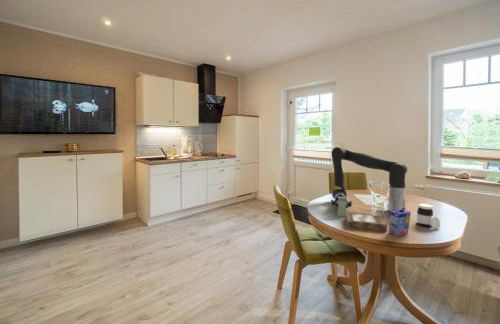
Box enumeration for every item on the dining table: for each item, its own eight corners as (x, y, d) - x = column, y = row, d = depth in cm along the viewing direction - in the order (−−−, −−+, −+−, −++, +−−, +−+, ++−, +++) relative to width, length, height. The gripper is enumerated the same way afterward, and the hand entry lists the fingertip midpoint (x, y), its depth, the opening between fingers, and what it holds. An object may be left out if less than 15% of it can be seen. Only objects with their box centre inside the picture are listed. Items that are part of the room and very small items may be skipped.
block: (345, 214, 166) (346, 196, 165) (345, 216, 163) (346, 198, 161) (337, 213, 168) (338, 196, 166) (337, 215, 164) (338, 198, 162)
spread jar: (417, 220, 154) (418, 202, 153) (440, 224, 147) (442, 205, 146) (414, 226, 145) (416, 207, 144) (439, 231, 138) (441, 210, 137)
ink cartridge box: (398, 236, 132) (400, 209, 130) (388, 232, 137) (389, 207, 135) (409, 233, 136) (411, 207, 134) (399, 229, 141) (401, 204, 139)
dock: (381, 222, 151) (381, 215, 151) (386, 231, 138) (387, 224, 138) (345, 219, 157) (346, 212, 156) (347, 227, 144) (348, 220, 143)
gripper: (330, 193, 179) (330, 200, 163) (351, 195, 175) (354, 201, 159) (329, 204, 180) (330, 211, 164) (351, 205, 176) (353, 213, 160)
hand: (342, 206), depth 162 cm, fingers closed on block, 5 cm apart
